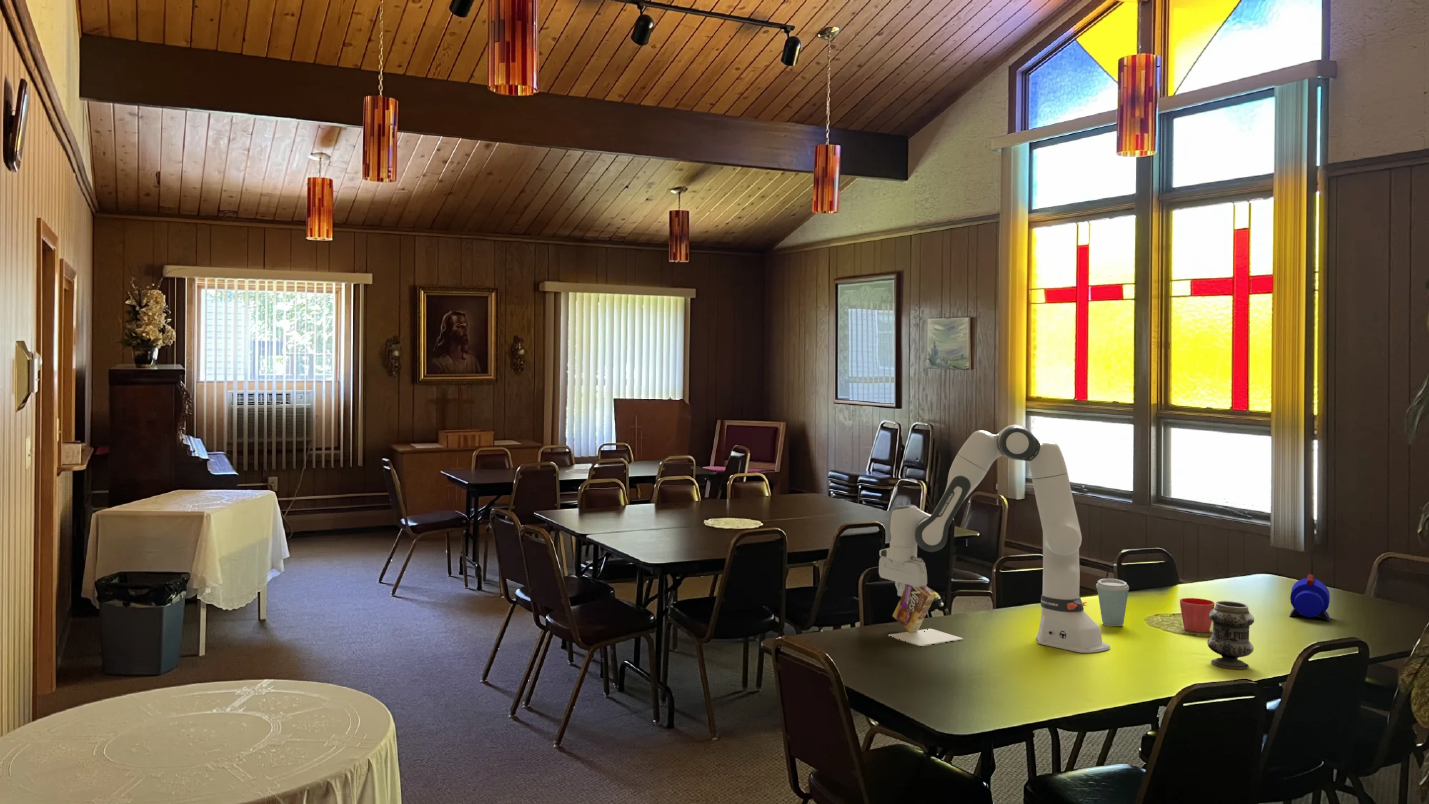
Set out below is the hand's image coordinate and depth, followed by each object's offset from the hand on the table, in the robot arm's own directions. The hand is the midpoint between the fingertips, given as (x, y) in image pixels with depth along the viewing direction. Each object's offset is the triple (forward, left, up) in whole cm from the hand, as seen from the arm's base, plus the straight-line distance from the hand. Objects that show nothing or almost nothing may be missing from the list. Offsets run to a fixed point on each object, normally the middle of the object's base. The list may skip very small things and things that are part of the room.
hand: (902, 596), depth 331 cm
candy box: (-2, 0, -9) cm, 9 cm away
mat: (-12, 0, -11) cm, 16 cm away
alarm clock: (-52, -145, -12) cm, 154 cm away
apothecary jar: (-77, -58, -12) cm, 97 cm away
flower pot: (-45, -90, -12) cm, 101 cm away
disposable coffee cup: (-27, -70, -12) cm, 76 cm away
